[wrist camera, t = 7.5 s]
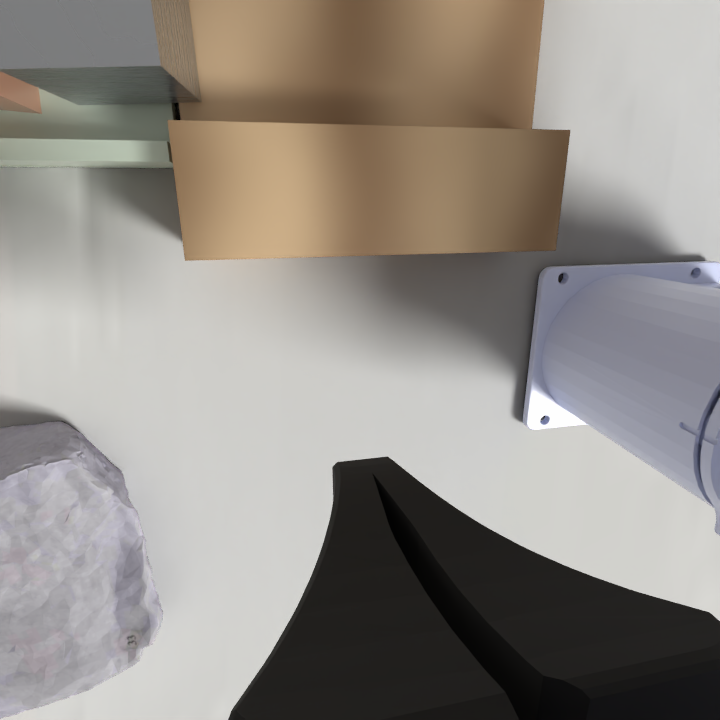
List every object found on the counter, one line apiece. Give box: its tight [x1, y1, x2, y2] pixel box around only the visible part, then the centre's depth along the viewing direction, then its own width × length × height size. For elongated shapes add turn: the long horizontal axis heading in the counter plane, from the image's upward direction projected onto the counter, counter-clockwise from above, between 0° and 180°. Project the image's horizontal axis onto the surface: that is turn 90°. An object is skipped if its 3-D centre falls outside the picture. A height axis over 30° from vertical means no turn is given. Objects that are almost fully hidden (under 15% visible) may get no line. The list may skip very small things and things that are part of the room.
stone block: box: [0, 421, 163, 719], centre depth 19 cm, size 12×5×10 cm
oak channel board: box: [167, 0, 570, 261], centre depth 15 cm, size 13×14×4 cm
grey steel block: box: [0, 0, 202, 105], centre depth 13 cm, size 4×4×4 cm
